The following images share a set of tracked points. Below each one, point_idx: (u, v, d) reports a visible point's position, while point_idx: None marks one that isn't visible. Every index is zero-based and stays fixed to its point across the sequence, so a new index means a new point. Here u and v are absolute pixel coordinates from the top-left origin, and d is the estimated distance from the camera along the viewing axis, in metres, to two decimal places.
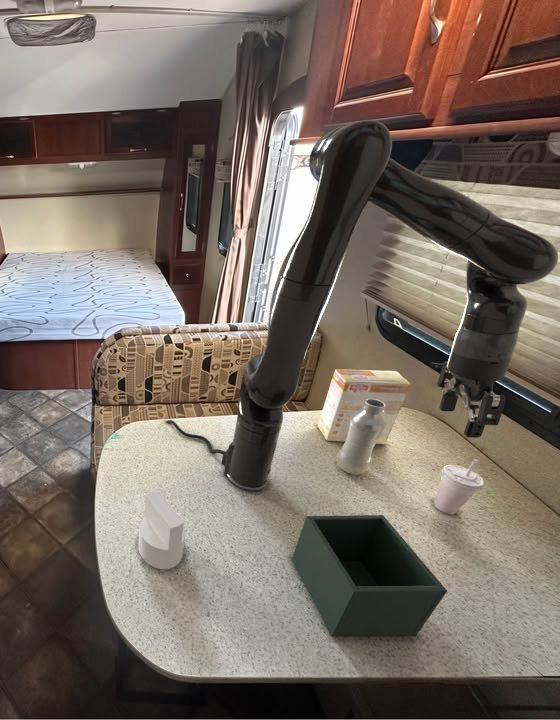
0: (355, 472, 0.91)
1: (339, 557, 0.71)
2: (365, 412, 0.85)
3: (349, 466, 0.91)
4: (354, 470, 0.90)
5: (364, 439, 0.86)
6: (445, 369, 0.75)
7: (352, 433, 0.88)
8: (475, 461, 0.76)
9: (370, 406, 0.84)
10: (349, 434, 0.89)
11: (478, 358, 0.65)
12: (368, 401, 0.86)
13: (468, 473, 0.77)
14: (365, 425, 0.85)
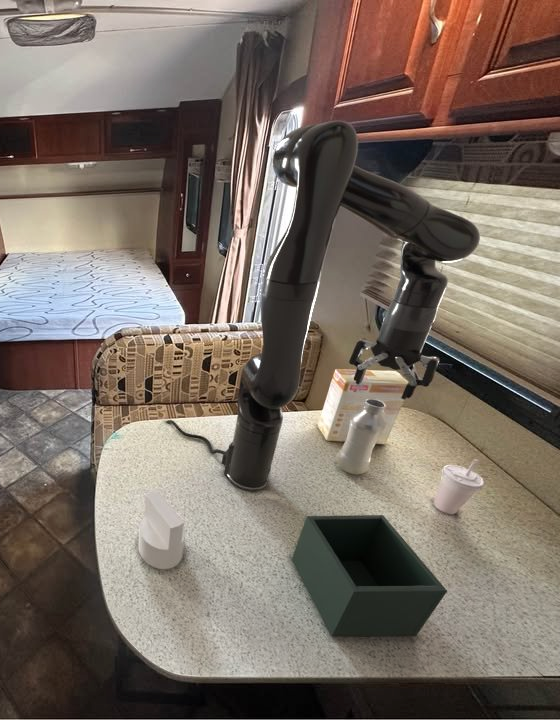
0: (355, 472, 0.91)
1: (339, 557, 0.71)
2: (365, 412, 0.85)
3: (349, 466, 0.91)
4: (354, 470, 0.90)
5: (364, 439, 0.86)
6: (360, 347, 0.82)
7: (352, 433, 0.88)
8: (475, 461, 0.76)
9: (370, 406, 0.84)
10: (349, 434, 0.89)
11: (424, 330, 0.72)
12: (368, 401, 0.86)
13: (468, 473, 0.77)
14: (365, 425, 0.85)
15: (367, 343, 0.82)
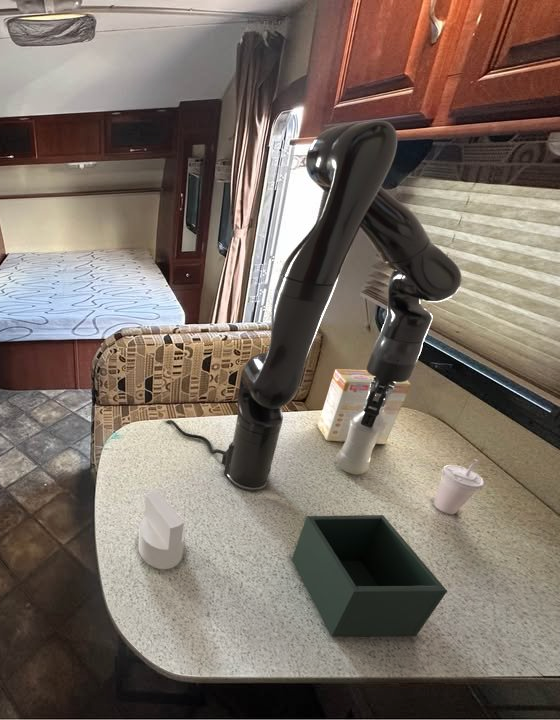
0: (355, 472, 0.91)
1: (339, 557, 0.71)
2: None
3: (349, 466, 0.91)
4: (354, 470, 0.90)
5: (364, 439, 0.86)
6: None
7: (352, 433, 0.88)
8: (475, 461, 0.76)
9: (370, 406, 0.84)
10: (349, 434, 0.89)
11: None
12: None
13: (468, 473, 0.77)
14: None
15: (381, 392, 0.78)
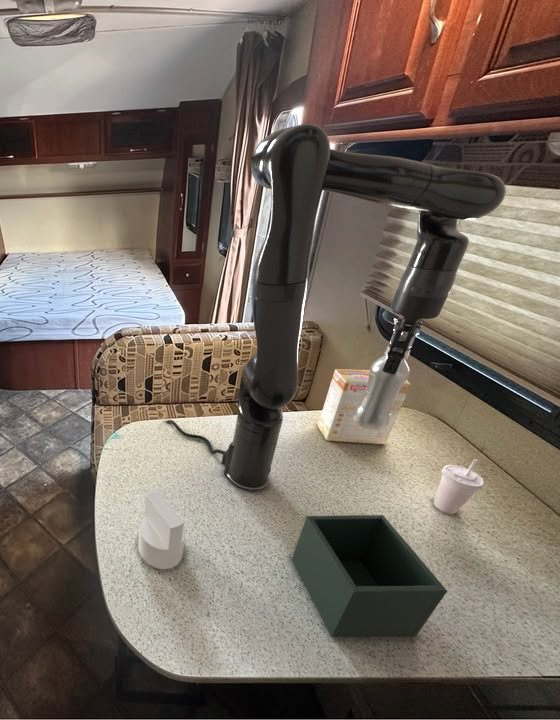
0: (374, 428, 0.82)
1: (339, 557, 0.71)
2: None
3: (367, 421, 0.83)
4: (373, 425, 0.82)
5: (386, 389, 0.78)
6: (411, 338, 0.70)
7: (372, 384, 0.80)
8: (475, 461, 0.76)
9: None
10: (368, 385, 0.81)
11: None
12: None
13: (468, 473, 0.77)
14: None
15: (408, 330, 0.70)
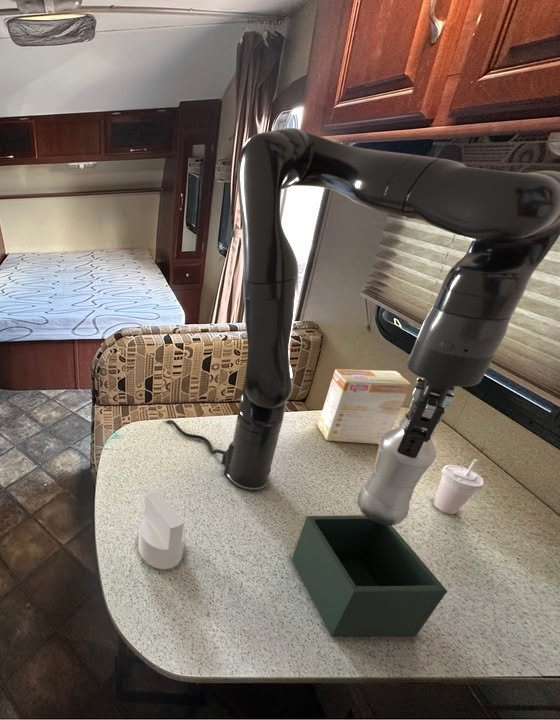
0: (387, 522, 0.60)
1: (339, 557, 0.71)
2: None
3: (377, 513, 0.60)
4: (385, 520, 0.60)
5: (402, 474, 0.56)
6: None
7: (382, 465, 0.58)
8: (475, 461, 0.76)
9: None
10: (378, 466, 0.59)
11: None
12: (408, 416, 0.56)
13: (468, 473, 0.77)
14: None
15: (436, 403, 0.48)
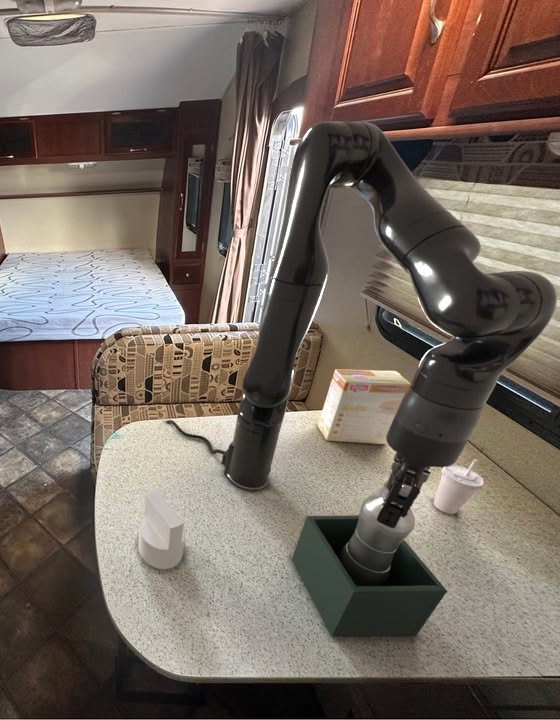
0: (368, 584, 0.61)
1: (339, 557, 0.71)
2: None
3: (358, 574, 0.61)
4: (366, 581, 0.61)
5: (382, 541, 0.57)
6: None
7: (363, 530, 0.59)
8: (475, 461, 0.76)
9: None
10: (359, 529, 0.60)
11: None
12: None
13: (468, 473, 0.77)
14: None
15: (412, 482, 0.49)
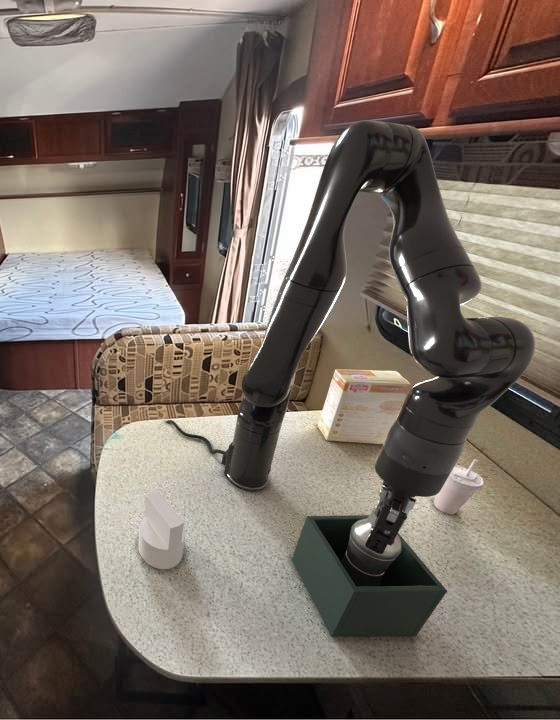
0: None
1: (339, 557, 0.71)
2: None
3: None
4: None
5: (371, 564, 0.59)
6: None
7: (353, 553, 0.61)
8: (475, 461, 0.76)
9: None
10: (349, 552, 0.62)
11: None
12: None
13: (468, 473, 0.77)
14: None
15: (399, 508, 0.51)
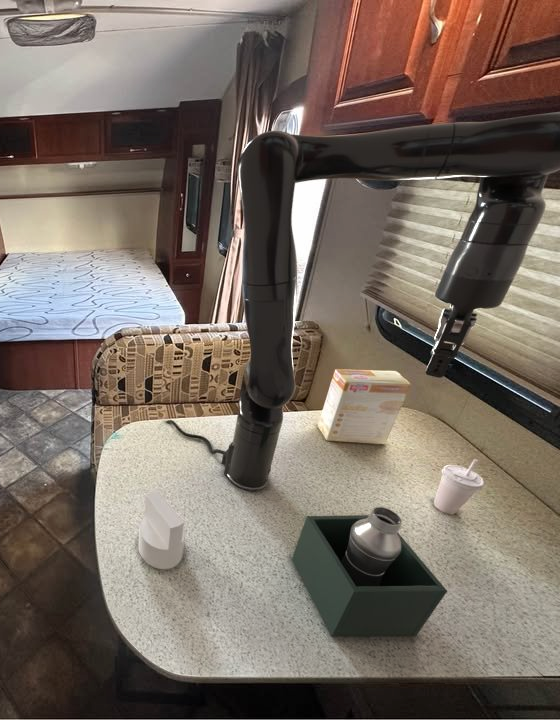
0: None
1: (339, 557, 0.71)
2: (372, 528, 0.58)
3: None
4: None
5: (371, 564, 0.59)
6: None
7: (353, 553, 0.61)
8: (475, 461, 0.76)
9: (380, 522, 0.57)
10: (349, 552, 0.62)
11: None
12: (376, 510, 0.59)
13: (468, 473, 0.77)
14: (373, 547, 0.58)
15: None
